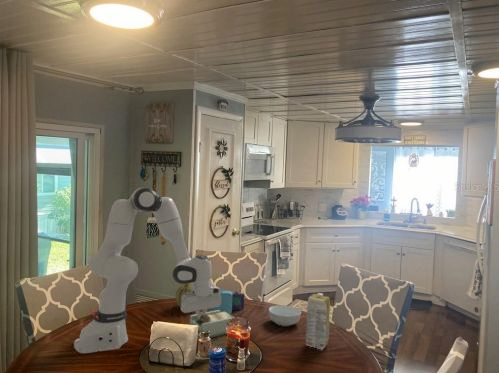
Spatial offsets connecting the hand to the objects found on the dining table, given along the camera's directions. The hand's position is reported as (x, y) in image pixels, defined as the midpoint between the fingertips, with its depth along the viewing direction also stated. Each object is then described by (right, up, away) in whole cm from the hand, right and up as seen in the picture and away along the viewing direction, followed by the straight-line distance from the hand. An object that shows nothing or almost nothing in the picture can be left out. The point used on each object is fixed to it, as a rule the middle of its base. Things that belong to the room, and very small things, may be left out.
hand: (200, 318), depth 190 cm
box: (+4, -7, +3) cm, 9 cm away
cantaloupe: (-11, -6, +33) cm, 35 cm away
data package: (+7, -7, +27) cm, 29 cm away
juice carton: (+54, -10, -9) cm, 55 cm away
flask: (+15, -7, +35) cm, 39 cm away
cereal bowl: (+41, -8, +17) cm, 45 cm away
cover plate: (+7, -2, +5) cm, 9 cm away
